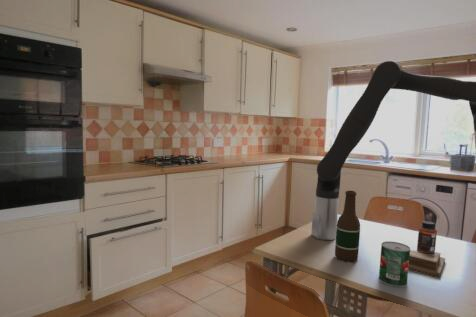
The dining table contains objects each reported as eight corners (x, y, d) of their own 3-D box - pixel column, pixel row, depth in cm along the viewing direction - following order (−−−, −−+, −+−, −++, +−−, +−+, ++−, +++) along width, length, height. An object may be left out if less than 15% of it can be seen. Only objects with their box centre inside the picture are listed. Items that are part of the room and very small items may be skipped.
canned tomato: (374, 274, 105) (377, 240, 104) (399, 275, 104) (402, 241, 103) (384, 286, 97) (388, 250, 96) (412, 287, 97) (415, 251, 95)
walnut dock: (439, 277, 104) (440, 265, 103) (391, 265, 112) (392, 253, 112) (444, 262, 116) (445, 251, 116) (401, 251, 125) (402, 241, 124)
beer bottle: (357, 255, 119) (362, 190, 117) (357, 264, 112) (363, 194, 110) (335, 252, 122) (339, 188, 119) (334, 260, 115) (338, 192, 112)
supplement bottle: (437, 255, 123) (440, 225, 122) (419, 253, 124) (422, 223, 123) (431, 249, 129) (434, 220, 128) (414, 247, 130) (417, 219, 129)
